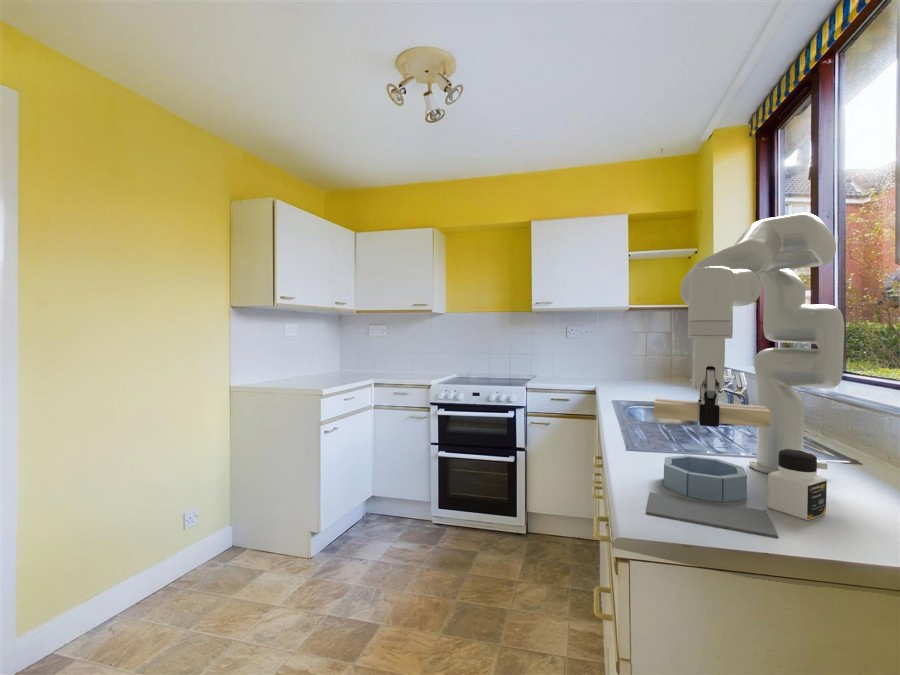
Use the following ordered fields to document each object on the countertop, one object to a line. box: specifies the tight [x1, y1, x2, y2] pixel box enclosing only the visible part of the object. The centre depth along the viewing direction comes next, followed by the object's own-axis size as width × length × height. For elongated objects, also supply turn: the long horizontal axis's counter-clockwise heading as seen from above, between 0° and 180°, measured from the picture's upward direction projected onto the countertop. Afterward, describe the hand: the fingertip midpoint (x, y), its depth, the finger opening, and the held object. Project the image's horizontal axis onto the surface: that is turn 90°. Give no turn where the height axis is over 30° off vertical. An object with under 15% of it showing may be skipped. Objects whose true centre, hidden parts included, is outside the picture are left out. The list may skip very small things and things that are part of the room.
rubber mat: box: [646, 491, 779, 539], centre depth 87 cm, size 21×12×1 cm, turn 62°
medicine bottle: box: [767, 449, 828, 521], centre depth 88 cm, size 7×7×12 cm
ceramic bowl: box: [663, 454, 748, 503], centre depth 101 cm, size 16×16×5 cm
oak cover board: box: [653, 398, 770, 428], centre depth 87 cm, size 6×19×3 cm, turn 62°
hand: (708, 421), depth 87 cm, fingers closed on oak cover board, 6 cm apart
